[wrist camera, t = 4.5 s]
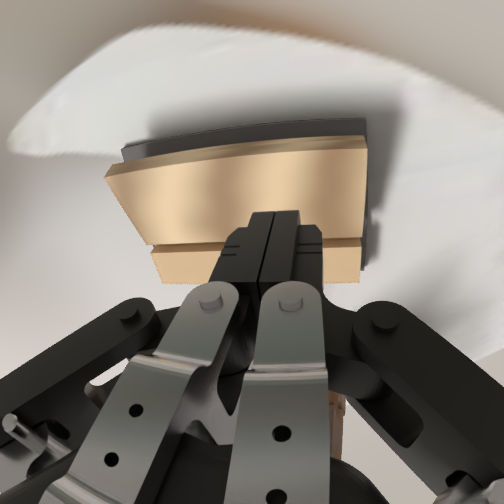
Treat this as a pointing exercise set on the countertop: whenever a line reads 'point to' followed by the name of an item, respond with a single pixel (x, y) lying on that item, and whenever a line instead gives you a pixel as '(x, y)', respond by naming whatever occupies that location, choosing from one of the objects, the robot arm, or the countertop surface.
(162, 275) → the floor section
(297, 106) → the countertop surface
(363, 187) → the board
